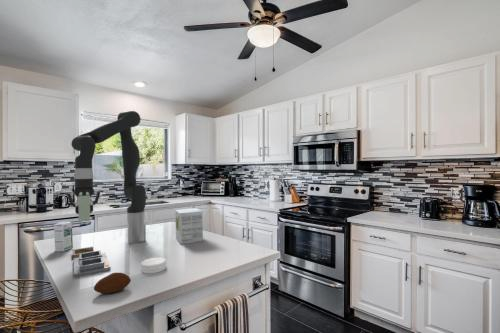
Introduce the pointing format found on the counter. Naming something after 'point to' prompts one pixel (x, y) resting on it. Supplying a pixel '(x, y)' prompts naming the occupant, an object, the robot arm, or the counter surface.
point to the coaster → (153, 265)
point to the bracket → (81, 251)
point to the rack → (91, 263)
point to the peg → (84, 208)
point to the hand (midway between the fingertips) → (84, 213)
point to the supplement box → (189, 225)
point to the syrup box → (63, 236)
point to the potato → (112, 283)
